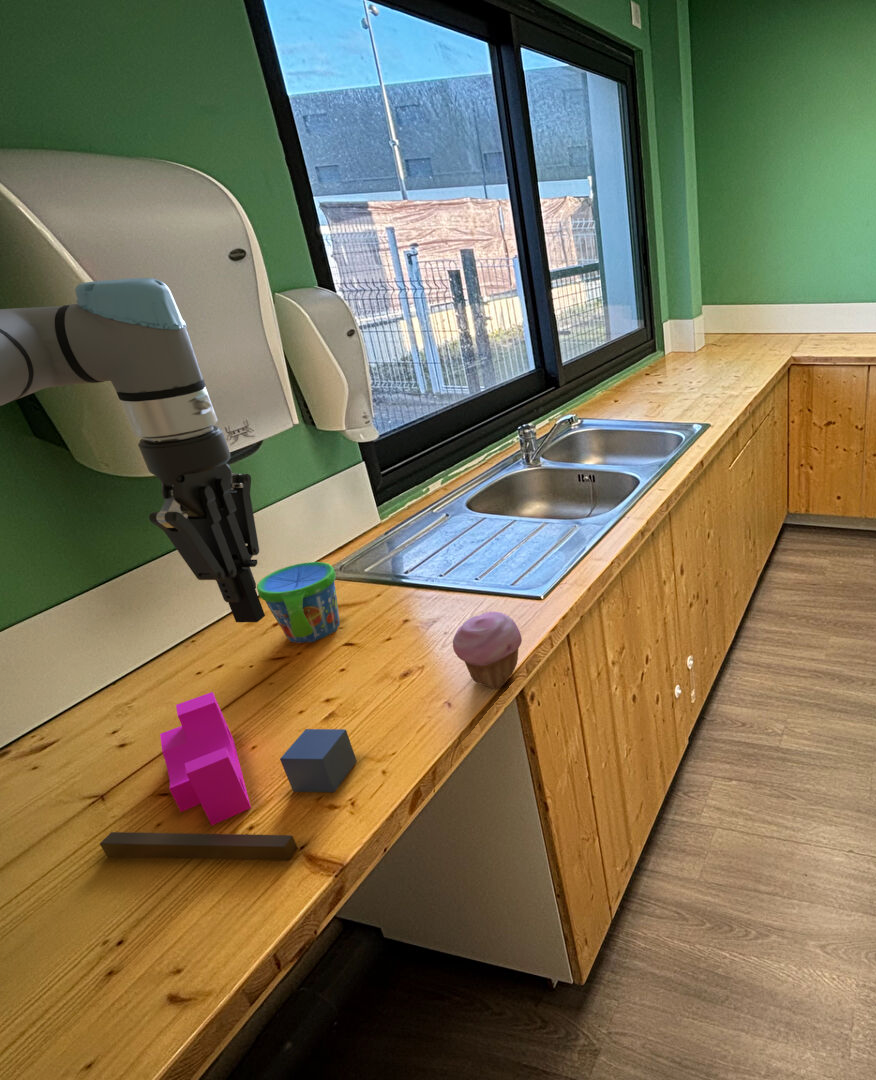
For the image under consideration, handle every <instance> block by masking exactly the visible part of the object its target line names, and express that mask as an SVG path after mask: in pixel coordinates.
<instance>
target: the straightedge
mask: <svg viewBox="0 0 876 1080" xmlns="http://www.w3.org/2000/svg"><path fill="white" fill-rule="evenodd" d="M99 845H100V847H101V848H102V850H103V852H104V854H105V856H106V857H107V858H142V859H143V858H149V859H151V858H153V859H196V860H199V859H200V860H203V859H205V860H244V861H245V860H246V861H247V860H248V861H249V860H250V861H251V860H253V861H255V860H256V861H290V860H291V859H292V858H293V856H294V855H295V854H296V852H297V851H298V849H299V848H298V846H297V843H296V841H295V839H294V836H293V835H292V834H248V833H247V834H246V833H245V834H244V833H243V834H242V833H241V834H239V833H238V834H237V833H191V832H190V833H185V832H184V833H183V832H182V833H181V832H127V831H125V832H124V831H123V832H122V831H114V832H113V831H111V832H109V833H108V835H106V836H105V838H103V840H102V841H100V842H99Z"/></svg>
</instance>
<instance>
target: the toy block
mask: <svg viewBox="0 0 876 1080" xmlns="http://www.w3.org/2000/svg"><path fill="white" fill-rule="evenodd" d="M175 707H176V714H177V718H178V720H179V723H180V726H177V727H175V728H172V729H169V730H167V731H164V732H161V733H159V736H160V745H161V746H160V747H161V752H162V755H163V757H164V762H165V765H166V769H167V773H168V779H169V788H168V790H169V792H170V794H171V796H172V798H173V799H174V801H175V804H176V805H177V807H178V809H179V812H180V813H182V812H184V811H187V810H190V809H191V808H195V807H196V806H199V805H201V806H202V807H201V808H202V809H203V811H204V813H205V815H206V817H207V819H208V821H209V823H210V825H211V826H214V825H216V824H219V823H221V822H223V821H225V820H227V819H229V818H232V817H235V816H237V815H238V814H241V813H244V812H245V811H248V810H250V809H252V806H251V802H250V799H249V795H248V790H247V787H246V783H245V778H244V776H243V772H242V767H241V763H240V760H239V755H238V751H237V747H236V744H235V740H234V738H233V735H232V732H231V730H230V728H229V726H228V723H227V721H226V718H225V716H224V714H223V712H222V709H221V708H220V705H219V703H218V701H217V698H216V696H215V694H214V692H213V691H211V692H208V693H205V694H203V695H200V696H197V697H195V698H191V699H188V700H185V701H183V702H180V703H177V704H175Z"/></svg>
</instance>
